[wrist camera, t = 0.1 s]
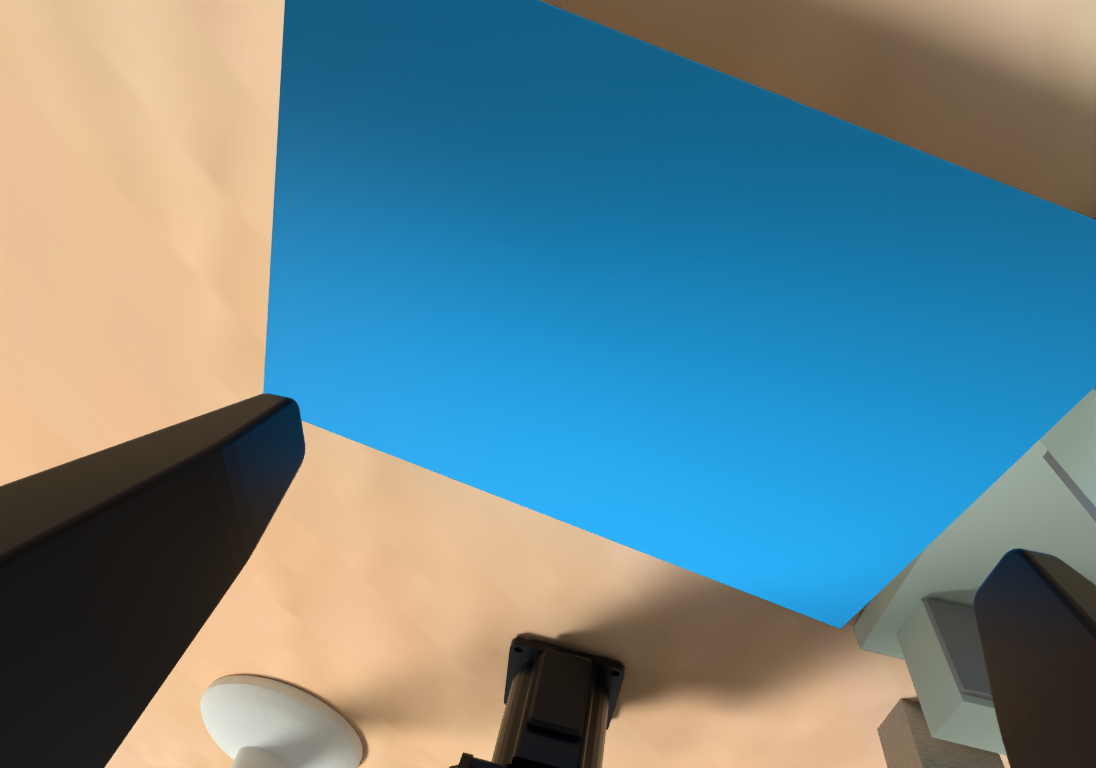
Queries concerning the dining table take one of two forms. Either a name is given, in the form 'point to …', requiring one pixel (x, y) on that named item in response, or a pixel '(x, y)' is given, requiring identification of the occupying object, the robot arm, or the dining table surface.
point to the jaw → (1076, 451)
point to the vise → (972, 594)
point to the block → (926, 743)
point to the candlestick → (277, 726)
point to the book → (657, 294)
